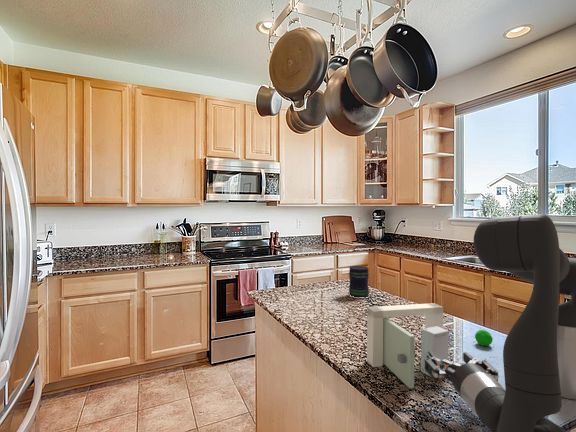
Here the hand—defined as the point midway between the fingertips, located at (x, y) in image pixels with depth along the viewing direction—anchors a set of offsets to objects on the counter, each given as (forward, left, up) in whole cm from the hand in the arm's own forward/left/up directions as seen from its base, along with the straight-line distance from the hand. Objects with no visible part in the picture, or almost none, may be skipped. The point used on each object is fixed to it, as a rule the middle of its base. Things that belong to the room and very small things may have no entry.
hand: (446, 355), depth 82 cm
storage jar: (-14, -85, -9) cm, 87 cm away
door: (+10, -9, -8) cm, 15 cm away
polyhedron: (-30, -21, -9) cm, 38 cm away
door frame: (+2, -16, -8) cm, 18 cm away
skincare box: (-2, -8, -9) cm, 12 cm away
